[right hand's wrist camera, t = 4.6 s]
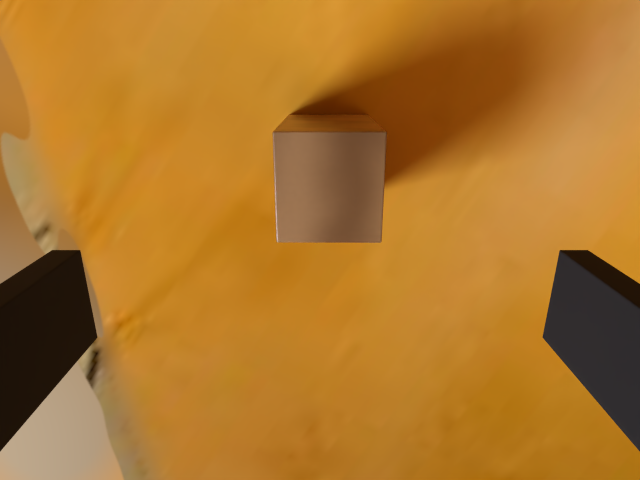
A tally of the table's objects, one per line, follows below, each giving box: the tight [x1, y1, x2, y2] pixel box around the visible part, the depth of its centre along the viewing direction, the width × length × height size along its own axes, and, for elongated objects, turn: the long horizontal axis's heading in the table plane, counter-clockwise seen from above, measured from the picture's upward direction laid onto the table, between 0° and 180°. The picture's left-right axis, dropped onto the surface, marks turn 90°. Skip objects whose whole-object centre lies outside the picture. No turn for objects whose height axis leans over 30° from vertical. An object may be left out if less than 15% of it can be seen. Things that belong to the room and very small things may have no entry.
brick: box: [273, 115, 387, 243], centre depth 29 cm, size 6×6×11 cm
